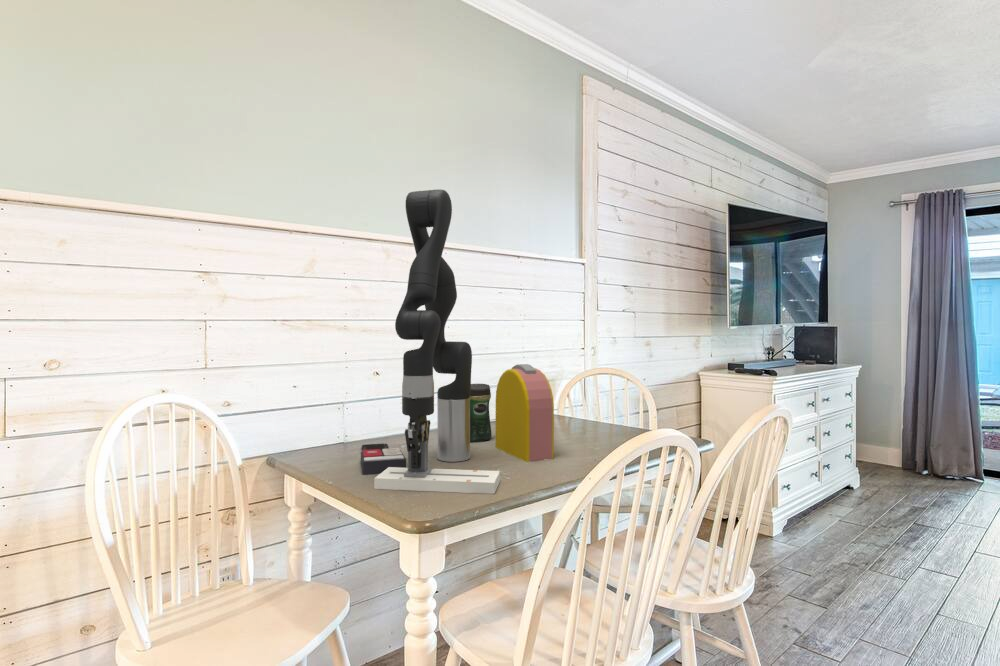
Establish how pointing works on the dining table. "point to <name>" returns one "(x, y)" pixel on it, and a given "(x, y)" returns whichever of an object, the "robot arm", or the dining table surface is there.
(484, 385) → the coffee jar
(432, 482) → the fader console
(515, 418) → the lunch box
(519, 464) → the dining table surface
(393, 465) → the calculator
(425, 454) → the fader tab
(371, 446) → the phone
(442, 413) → the robot arm
